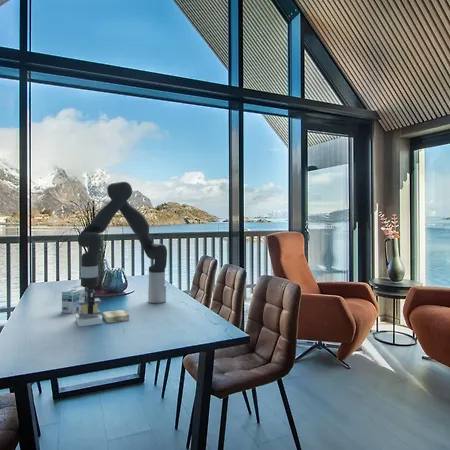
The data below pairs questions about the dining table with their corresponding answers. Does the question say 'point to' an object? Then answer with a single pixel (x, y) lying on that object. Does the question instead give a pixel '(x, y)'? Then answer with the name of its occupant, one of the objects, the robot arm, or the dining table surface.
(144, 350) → the dining table surface
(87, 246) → the robot arm
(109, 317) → the stand
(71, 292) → the light bulb box
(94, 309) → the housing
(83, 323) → the stand
